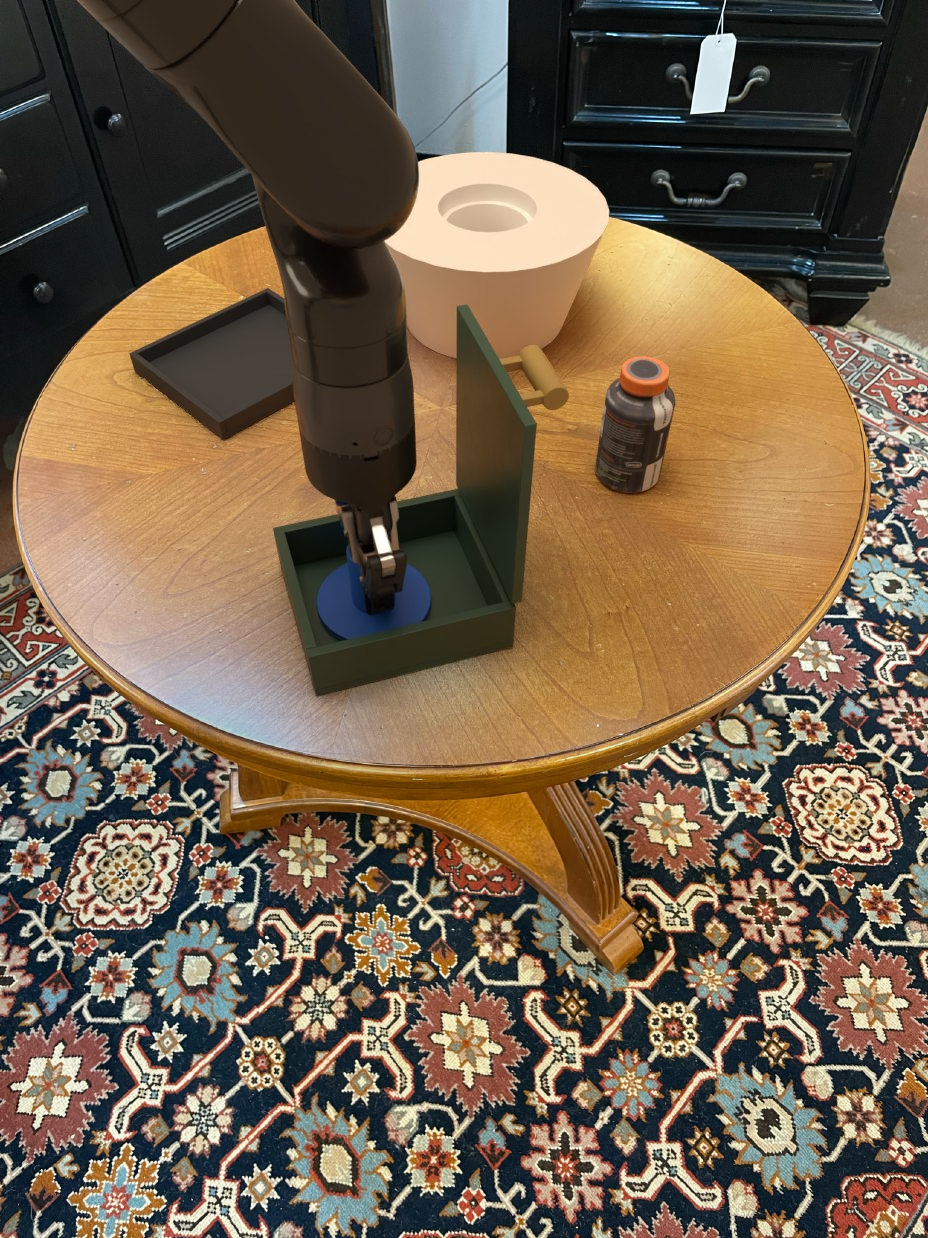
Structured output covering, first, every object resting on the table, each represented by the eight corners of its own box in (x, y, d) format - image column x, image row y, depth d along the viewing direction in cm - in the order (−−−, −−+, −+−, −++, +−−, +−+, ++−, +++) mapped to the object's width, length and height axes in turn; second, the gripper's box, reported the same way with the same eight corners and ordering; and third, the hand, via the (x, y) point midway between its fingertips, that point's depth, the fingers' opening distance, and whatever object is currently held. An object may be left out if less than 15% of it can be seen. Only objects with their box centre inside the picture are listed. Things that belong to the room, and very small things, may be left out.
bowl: (515, 237, 114) (520, 133, 105) (640, 336, 101) (659, 228, 92) (334, 293, 106) (323, 186, 97) (446, 410, 93) (445, 299, 84)
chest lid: (524, 426, 57) (598, 411, 58) (456, 305, 66) (522, 294, 67) (511, 604, 70) (572, 589, 71) (455, 484, 78) (511, 472, 79)
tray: (223, 440, 90) (219, 422, 88) (134, 370, 96) (128, 352, 95) (362, 364, 97) (360, 346, 96) (270, 304, 104) (267, 287, 103)
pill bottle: (671, 485, 86) (696, 381, 77) (613, 502, 85) (631, 397, 76) (639, 445, 90) (659, 341, 81) (583, 460, 88) (597, 356, 80)
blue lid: (369, 668, 72) (363, 614, 67) (294, 603, 76) (283, 548, 71) (454, 605, 76) (454, 549, 71) (379, 546, 80) (374, 490, 75)
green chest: (315, 696, 71) (308, 657, 67) (280, 568, 79) (272, 527, 75) (513, 647, 74) (516, 607, 70) (460, 528, 82) (460, 487, 79)
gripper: (277, 360, 65) (307, 539, 78) (322, 497, 56) (347, 672, 69) (384, 341, 66) (396, 520, 80) (444, 471, 58) (446, 647, 71)
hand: (373, 590), depth 74 cm, fingers closed on blue lid, 3 cm apart
